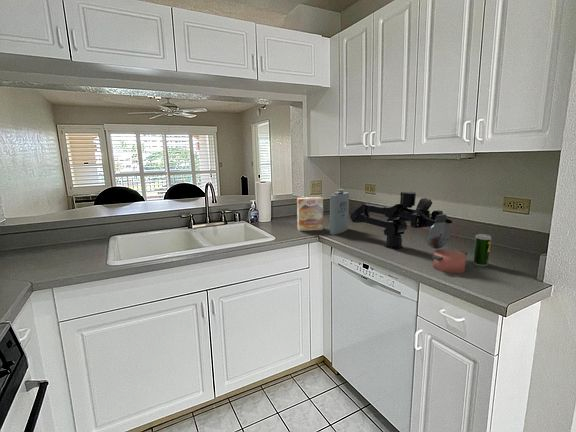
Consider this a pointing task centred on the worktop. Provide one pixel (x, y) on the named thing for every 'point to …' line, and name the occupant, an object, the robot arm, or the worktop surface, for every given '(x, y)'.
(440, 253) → the cooker pot
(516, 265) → the worktop surface
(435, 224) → the cooker lid
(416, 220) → the robot arm
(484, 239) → the beer can
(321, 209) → the coffeecake box
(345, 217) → the flask
